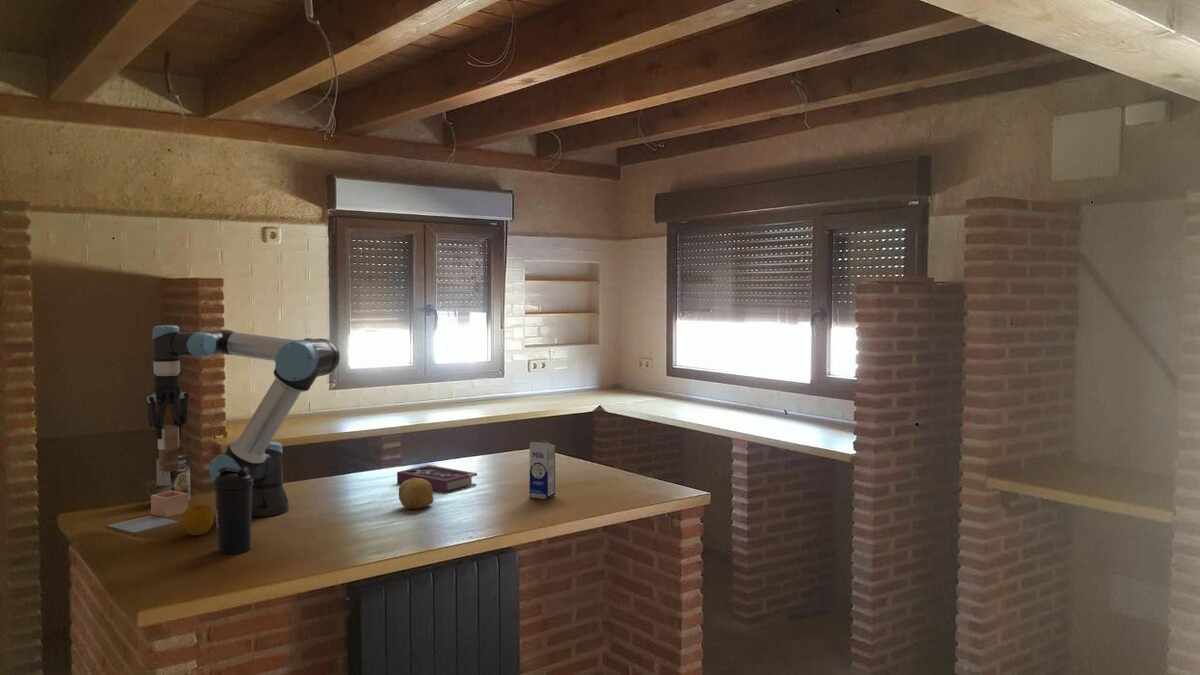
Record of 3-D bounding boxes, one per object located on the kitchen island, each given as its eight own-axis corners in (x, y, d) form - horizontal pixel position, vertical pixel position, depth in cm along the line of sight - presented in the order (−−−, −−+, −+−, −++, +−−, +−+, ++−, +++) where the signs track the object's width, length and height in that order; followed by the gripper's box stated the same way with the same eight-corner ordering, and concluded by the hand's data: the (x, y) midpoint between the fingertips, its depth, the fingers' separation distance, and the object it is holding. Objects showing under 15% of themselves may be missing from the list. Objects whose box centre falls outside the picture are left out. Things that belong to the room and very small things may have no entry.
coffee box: (173, 508, 289) (172, 459, 288) (156, 507, 290) (155, 458, 289) (191, 501, 298) (190, 454, 297) (174, 500, 299) (173, 453, 298)
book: (477, 486, 326) (477, 473, 325) (445, 494, 312) (445, 480, 312) (428, 477, 340) (428, 464, 340) (397, 484, 327) (396, 471, 327)
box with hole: (188, 515, 280) (187, 493, 280) (165, 520, 273) (165, 498, 273) (173, 512, 284) (173, 490, 283) (151, 517, 277) (150, 495, 277)
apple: (193, 540, 253) (192, 510, 252) (176, 535, 257) (175, 506, 257) (220, 533, 260) (219, 504, 259) (202, 529, 264) (202, 500, 264)
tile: (178, 525, 268) (178, 521, 268) (134, 536, 256) (134, 532, 256) (151, 518, 275) (151, 515, 275) (106, 529, 263) (106, 525, 263)
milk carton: (529, 498, 306) (529, 441, 305) (537, 493, 313) (537, 438, 311) (547, 500, 304) (547, 442, 303) (555, 495, 310) (555, 439, 309)
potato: (440, 506, 294) (440, 477, 293) (410, 514, 284) (410, 483, 283) (420, 501, 300) (420, 472, 299) (390, 508, 290) (390, 479, 290)
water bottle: (221, 545, 248) (220, 464, 247) (258, 544, 249) (257, 464, 248) (208, 556, 238) (207, 472, 237) (247, 555, 239) (246, 472, 238)
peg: (178, 469, 278) (177, 426, 278) (167, 472, 275) (166, 427, 274) (171, 468, 280) (170, 425, 280) (159, 470, 277) (158, 426, 276)
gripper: (184, 371, 285) (186, 442, 287) (133, 376, 271) (135, 451, 272) (198, 372, 281) (200, 445, 283) (148, 377, 267) (150, 453, 268)
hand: (168, 447), depth 277 cm, fingers closed on peg, 4 cm apart
